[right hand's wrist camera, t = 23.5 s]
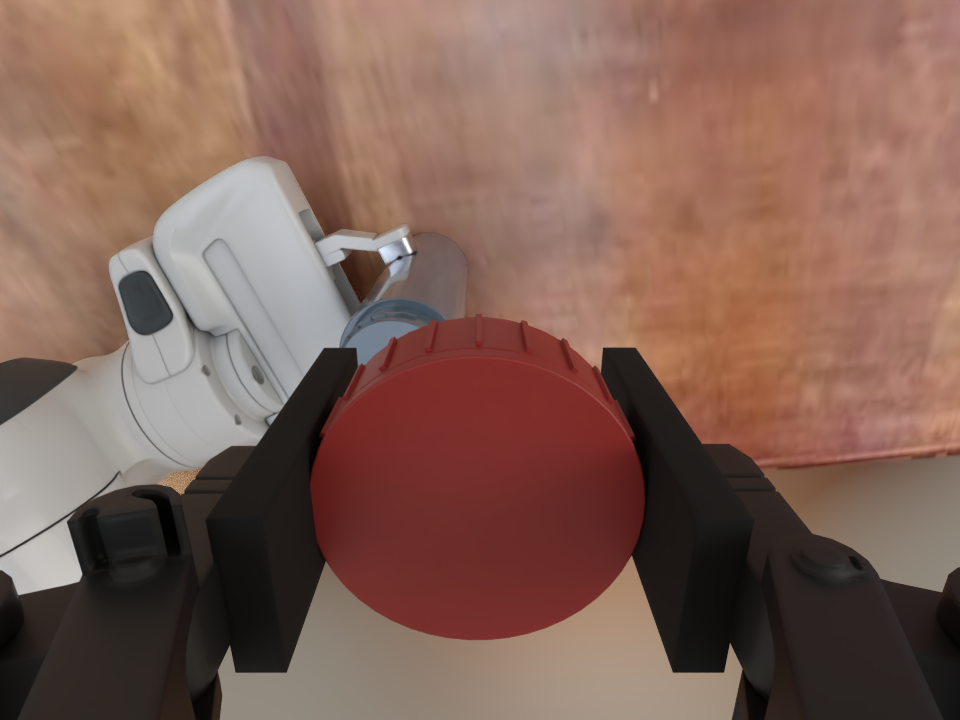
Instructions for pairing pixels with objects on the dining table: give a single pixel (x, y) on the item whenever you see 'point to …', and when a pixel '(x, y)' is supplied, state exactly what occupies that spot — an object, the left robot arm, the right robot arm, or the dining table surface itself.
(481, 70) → the dining table surface
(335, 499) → the lid
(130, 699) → the right robot arm
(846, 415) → the dining table surface
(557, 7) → the dining table surface
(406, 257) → the bottle
